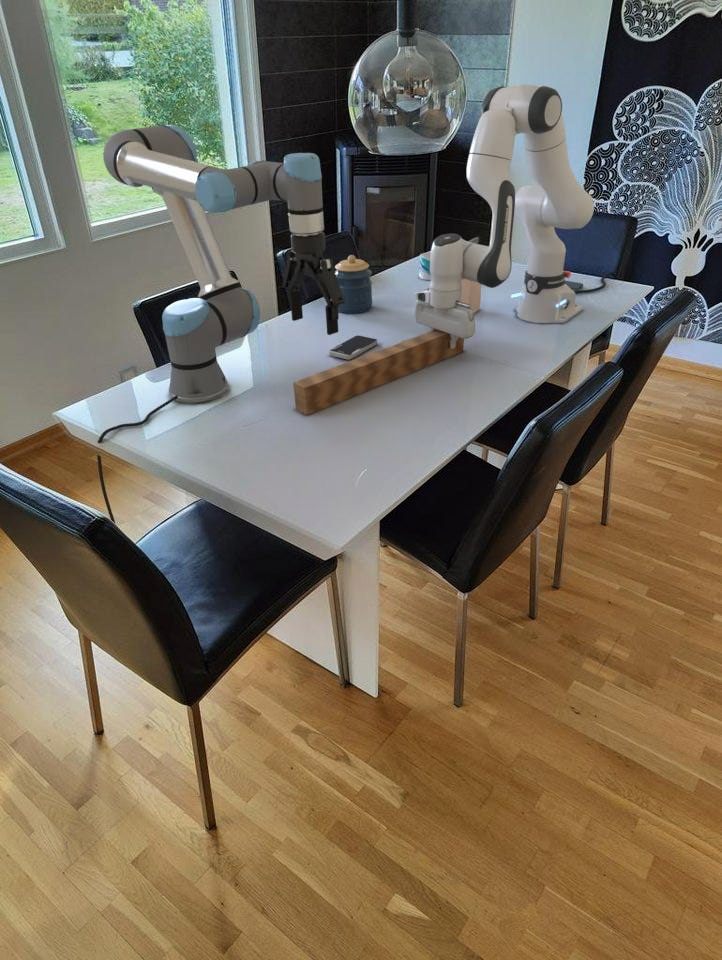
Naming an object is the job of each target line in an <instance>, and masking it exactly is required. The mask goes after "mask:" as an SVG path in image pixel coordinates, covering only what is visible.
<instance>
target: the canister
mask: <svg viewBox="0 0 722 960" xmlns="http://www.w3.org/2000/svg"><path fill="white" fill-rule="evenodd" d="M369 267H370V264H369V263H368V262H366V261H365V260H363V259H359V258H357V257H356V256H355V255H354V254H350V255H349V256H348V257H347V259H343V260H341V261H339V263H337V264H336V265H335V266H334V269H336V270H334V271H335V274H336V277H337V280H338V283H339V286H340V289H341V292H342V295H343V298H344V303H343V304H340V305H338V312H340V313H345V314H359V313H364V312H367V311H369V310H371V309H372V308H373V291H372V290H373V288H372V286H373V282H372V280H371V276H372V274H373V272H372V270H371V269H369ZM338 299H339V298H338Z"/></svg>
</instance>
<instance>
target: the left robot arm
mask: <svg viewBox="0 0 722 960" xmlns="http://www.w3.org/2000/svg"><path fill="white" fill-rule="evenodd" d="M102 156H103V157H102V159H103V163H104V166H105V169H106V171H107V172H108V173H109V175H110V176H111V177H112V178H113V179H114V180H116V181H117V182H119V183H120V184H123V185H126V186H129V187H133V188H140V187H143V186H146V187H149V188H151V191H152V192H153V193H155V194H156V195H159V196H160V197H161V198H162V201H163V203H164V205H165V207H166V210H167V212H168V214H169V217H170V220H171V221H172V224H173V226H174V229H175V231H176V233H177V236H178V238H179V240H180V243H181V245H182V248H183V250H184V252H185V254H186V257H187V259H188V261H189V264H190V266H191V269H192V271H193V273H194V276H195V278H196V281H197V282H198V285H199V287H200V289H199V293H198V295H197V297H190V298H188V299H185V298H184V299H180V300H177V301H175V302H173V303H171V304H170V305H168V306H166V308H164V310H163V312H162V316H161V318H162V330H163V333H164V337H165V342H166V345H167V352H168V356H169V361H170V367H171V369H170V370H171V371H170V377H169V386H168V393H169V397H170V399H168V400H167V401H165V402H164V403H162V404H160V405H158V406H157V407H156V408H154V409H153V410H151V411H150V412H149V413H147V415H146V416H145V418H144V419H143V420H141V421H137V422H130V423H129V422H128V423H122V424H118V425H115V426H112V427H109V428H107V429H106V430H104V431H103V432H102V433H101V435H100V436H99V438H98V440H97V444H101V443H102V442H103V440H104V438H105V436H106V435H107V434H108V433H110V432H113V431H116V430H119V429H123V428H129V427H130V428H131V427H139V426H142V425H144V424H146V423H147V422H148V421H149V419H150V418H151V417H152V416H153V415H154V414H155V413H157V412H158V411H160V410H161V409H163V408H165V407H166V406H168V405H169V404H171V403H173V402H174V401H175V402H177V403H180V404H188V405H189V404H190V405H196V404H197V405H198V404H204V403H208V402H212V401H214V400H217V399H219V398H221V397H223V396H224V395H225V394H227V392H228V391H229V383H228V379H227V378H226V375H225V374H224V372H223V370H222V368H221V366H220V363H219V362H218V358H217V352H216V348H218V347H220V346H223V345H225V344H228V343H231V342H233V341H235V340H237V339H242V338H244V337H246V336H248V335H249V334H251V333H253V332H255V331H256V330H257V328H258V327H259V324H260V320H261V308H260V304H259V301H258V299H257V296H256V295H255V294H254V293H253V292H252V291H251V290H250V289H248V288H243V286H242V284H241V282H240V280H238V279H236V278H235V277H233V276H232V275H231V272H230V270H229V267H228V265H227V262H226V260H225V258H224V257H225V256H224V255H223V253H222V250H221V248H220V246H219V243H218V240H217V238H216V236H215V233H214V230H213V228H212V225H211V224H210V221H209V218H208V216H207V213H210V214H214V213H226V212H228V211H232V210H235V209H239V208H244V207H247V206H252V205H256V204H260V203H264V202H268V201H280V202H287V211H288V213H287V215H288V225H289V227H288V228H289V231H290V233H291V234H290V243H291V244H290V245H291V249H290V250H287V251H286V265H285V270H284V274H283V280H282V284H281V286H282V288H283V289H286V292H287V293H288V297H289V304H290V313H291V320H292V321H293V322H295V321H299V320H301V319H304V315H303V302H302V301H303V300H302V291H300V290H301V288H300V287H301V285H302V283H303V281H304V279H305V277H306V276H307V277H309V278H311V279H312V280H313V281H315V283H316V284H317V287H318V288H319V291H320V293H321V295H322V296H323V298H324V300H325V302H326V305H325V322H326V334H327V335H328V336H331V335H334V334H336V333H339V318H340V317H339V311H338V305H340V304H343V303H344V298H343V295H342V292H341V289H340V286H339V283H338V280H337V277H336V274H335V271H336V270H335V266H334V261H333V259H332V258H327V259H325V258H324V257H323V254H324V253H323V252H324V251H325V250H326V234H325V233H326V232H324V231H325V221H324V206H323V205H324V203H323V186H322V185H323V182H322V181H323V180H322V179H323V175H322V171H321V161H320V157H319V156H318V155H317V154H316V153H313V152H297V153H296V152H294V153H289V154H286V155H285V156H284V158H283V162H276V161H268V160H254V161H250V162H249V163H248V164H247V165H244V166H240V167H239V166H238V167H234V168H227V169H226V168H220V167H216V166H212V165H209V164H205V163H201V162H199V159H197V158H198V157H199V153H198V151H197V147H196V144H195V142H194V141H193V139H192V137H191V136H190V134H188V132H187V131H186V130H184V128H181V127H179V126H178V125H175V124H157V125H154V126H145V127H137V128H131V129H130V128H128V129H122V130H119V131H117V132H115V133H113V134H112V135H110V137H109V138H108V139H107V141H106V142H105V144H104V147H103V152H102ZM206 212H207V213H206ZM338 298H339V299H338ZM101 456H102V455H99V454H96V458H97V467H98V476H99V482H100V487H101V491H102V495H103V499H104V503H105V505H106V506H105V507H106V509H107V513H108V515H109V519H110V521H111V520H112V521H113V522H114V523H115V524H116V520H115V517H114V514H113V511H112V508H111V504H110V502H109V501H110V500H109V498H108V493H107V490H106V484H105V479H104V474H103V473H104V472H103V465H102V457H101Z"/></svg>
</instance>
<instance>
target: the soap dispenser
mask: <svg viewBox="0 0 722 960" xmlns="http://www.w3.org/2000/svg"><path fill="white" fill-rule="evenodd" d="M468 242H472V243H476V244H479V243H480V237H478V236H476V237H474V238H472V239H470V240H468ZM461 283H462V296H461V302H463V303H466V304H470V305H471V307H472V308H473V309H474V314H476V313H477V312H478V311H480V309H481V298H482V296H481V294H482V284H480V283H477V282H473V281H470V280H466V279H462V280H461Z"/></svg>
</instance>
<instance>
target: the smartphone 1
mask: <svg viewBox="0 0 722 960" xmlns="http://www.w3.org/2000/svg"><path fill="white" fill-rule="evenodd" d="M377 345H378V339H377V338H373V337H369V336H363V335H360V334H359V335H355V336H353V337H351V338H349V339H347V340H345V341H343V342H342V343H340V344H338V345H336V346H334V347H333V348H331V349H329V350H328V355H329V356H331V357H335V358H338V359H339V358H340V359H343V360H349V361H351V360H352V359H354V358H356V357H358V356H359V355H362V353H364V352H366V351H368V350H369V349H372V348H373V347H375V346H377Z"/></svg>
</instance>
